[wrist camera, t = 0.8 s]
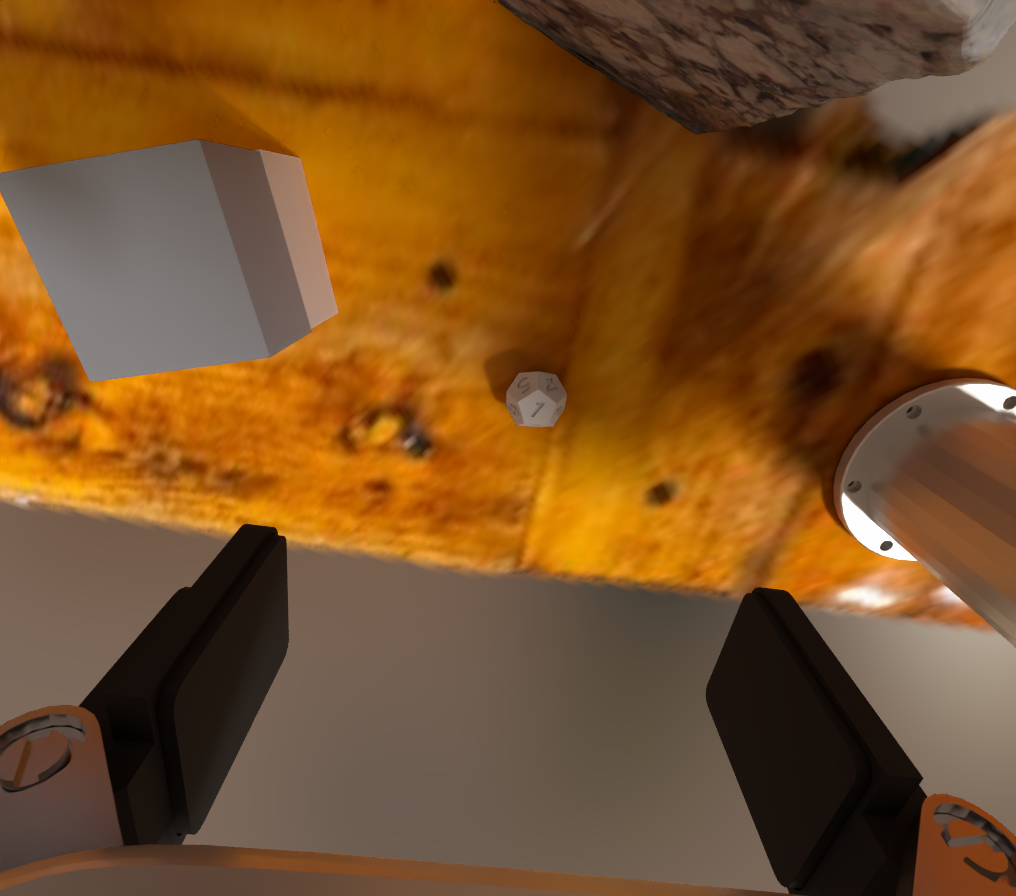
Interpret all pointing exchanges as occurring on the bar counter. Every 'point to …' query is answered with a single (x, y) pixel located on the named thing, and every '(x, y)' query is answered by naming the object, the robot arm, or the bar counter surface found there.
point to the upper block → (161, 257)
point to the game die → (536, 399)
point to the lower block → (301, 234)
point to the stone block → (766, 49)
